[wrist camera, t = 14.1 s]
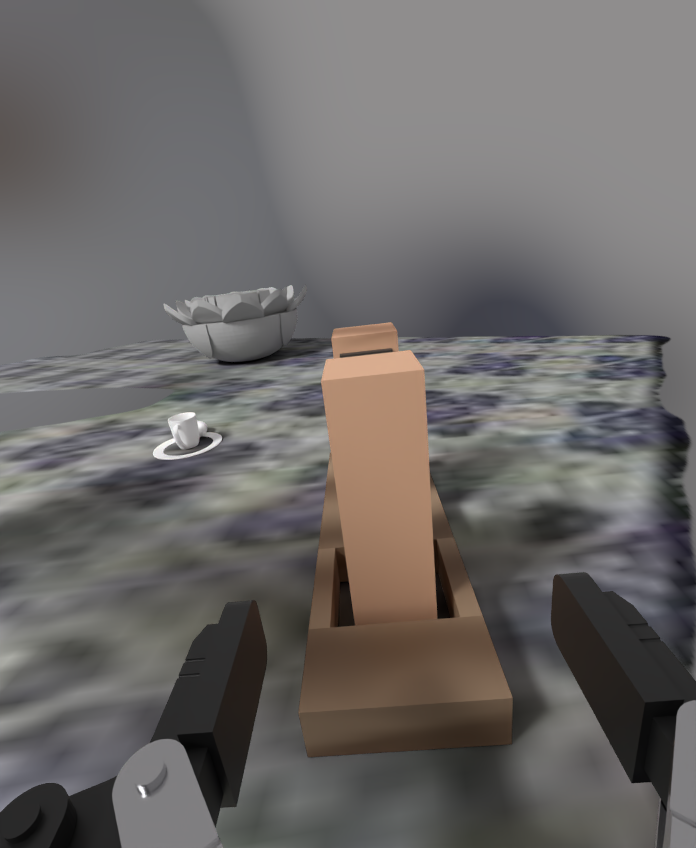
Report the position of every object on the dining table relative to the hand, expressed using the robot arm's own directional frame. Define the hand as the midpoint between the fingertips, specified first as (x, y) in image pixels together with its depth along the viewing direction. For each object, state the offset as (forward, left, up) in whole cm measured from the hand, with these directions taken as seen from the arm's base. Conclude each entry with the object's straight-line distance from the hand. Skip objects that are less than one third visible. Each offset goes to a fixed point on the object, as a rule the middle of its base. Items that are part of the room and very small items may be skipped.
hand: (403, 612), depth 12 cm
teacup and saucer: (-39, +22, -10) cm, 46 cm away
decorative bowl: (-76, +60, -9) cm, 97 cm away
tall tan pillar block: (-5, +7, -9) cm, 13 cm away
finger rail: (-8, +12, -9) cm, 17 cm away
